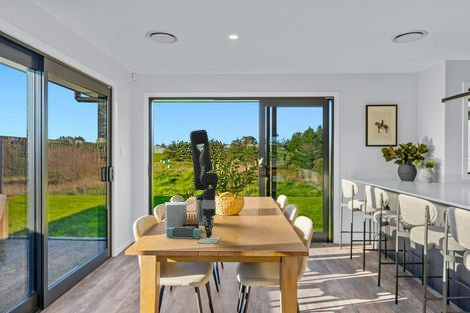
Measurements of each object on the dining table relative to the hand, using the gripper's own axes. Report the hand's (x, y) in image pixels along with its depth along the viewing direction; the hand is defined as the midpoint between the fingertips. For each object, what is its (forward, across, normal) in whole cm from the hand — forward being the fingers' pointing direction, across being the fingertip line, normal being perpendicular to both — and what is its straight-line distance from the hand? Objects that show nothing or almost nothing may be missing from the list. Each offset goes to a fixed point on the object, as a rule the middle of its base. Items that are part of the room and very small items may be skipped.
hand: (209, 236), depth 189 cm
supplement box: (+3, -25, -29) cm, 38 cm away
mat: (+2, 0, 0) cm, 2 cm away
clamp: (+2, -6, -17) cm, 18 cm away
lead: (+3, -6, -17) cm, 18 cm away
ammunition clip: (+3, -20, -17) cm, 26 cm away
